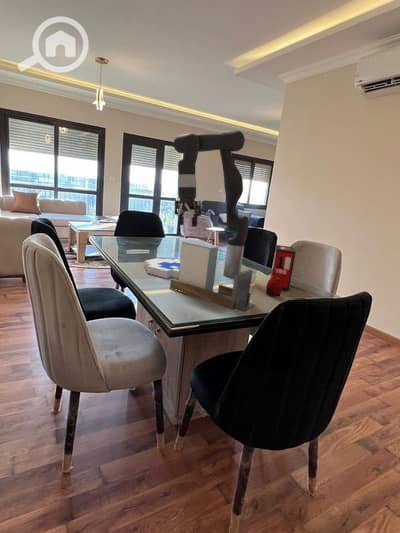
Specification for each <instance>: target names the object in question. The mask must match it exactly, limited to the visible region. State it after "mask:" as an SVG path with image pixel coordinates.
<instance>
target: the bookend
mask: <svg viewBox="0 0 400 533" xmlns="http://www.w3.org/2000/svg"><path fill="white" fill-rule="evenodd" d="M252 278H253V269H246V270H243V271H241V272H240V273H237V274H235V276H234V277H233V284H232V288H233V290H232V298H231V305H230V307H229V309H230V310H238V311H241V312H244V313H245V312H247V311H249V310H250V309H252V308H253V307H255V306H256V304H255V303H253V302H247V301H248V295H249V293H250V290H251V284H252V283H251V282H252ZM236 299H238V304H237V308H236V309H235V302H236Z"/></svg>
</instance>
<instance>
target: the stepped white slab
mask: <svg viewBox="0 0 400 533" xmlns="http://www.w3.org/2000/svg"><path fill="white" fill-rule="evenodd" d="M143 268H144V269H145V271H146V270H147V271H146V274H148V273H150V274H149V275H152V274H153V276H156V275H157V277H160V276H161V277H160V278H164V277H165V279H169V278H174V277H175V278H174V279H178V278H179V268H180V259H178V258H175V259H171V258H164V259H163V258H159V257H157V258H151V259H146V260H144V261H143Z"/></svg>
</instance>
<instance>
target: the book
mask: <svg viewBox="0 0 400 533" xmlns="http://www.w3.org/2000/svg"><path fill="white" fill-rule="evenodd" d="M180 249H181V250H180V259H179V260H180V268H179V278H177V279H178V280H177V281H180V282H183V283H187V284H190V285H193V286H196V287H200V288H203V289H206V290H210V291H213V292H214V286H215V277H216V270H217V263H218V262H217V260H218V254H219V253H218V252H219V246H215V245H211V244H206V243H202V242H201V243H200V242H197V241H192V240H187V241H182V242H181V248H180Z"/></svg>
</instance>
